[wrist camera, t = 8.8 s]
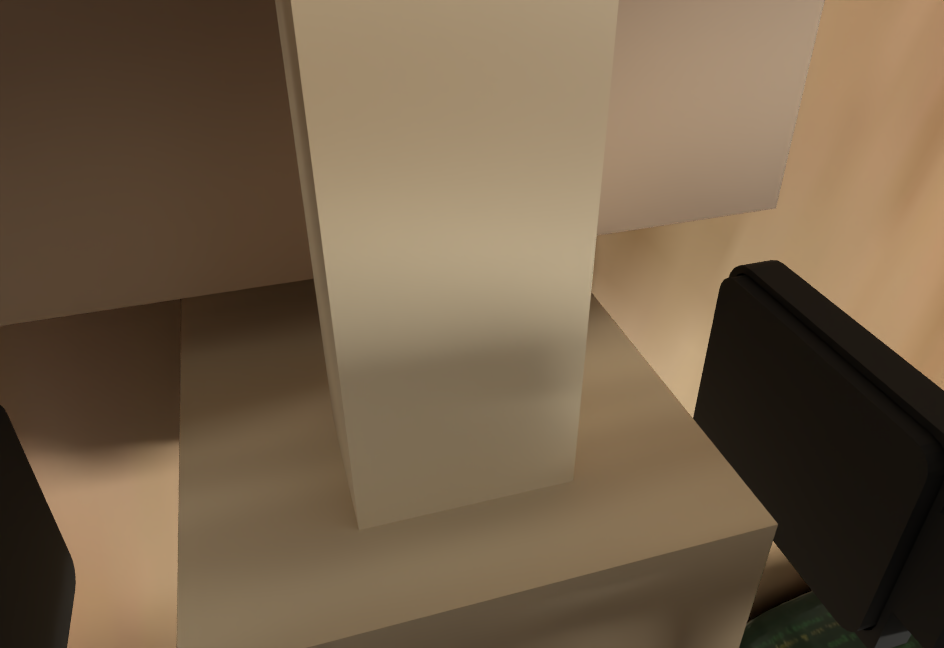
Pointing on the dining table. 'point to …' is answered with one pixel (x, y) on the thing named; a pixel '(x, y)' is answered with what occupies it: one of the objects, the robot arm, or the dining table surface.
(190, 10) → the walnut board
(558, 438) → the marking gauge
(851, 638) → the coffee jar
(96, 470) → the dining table surface
